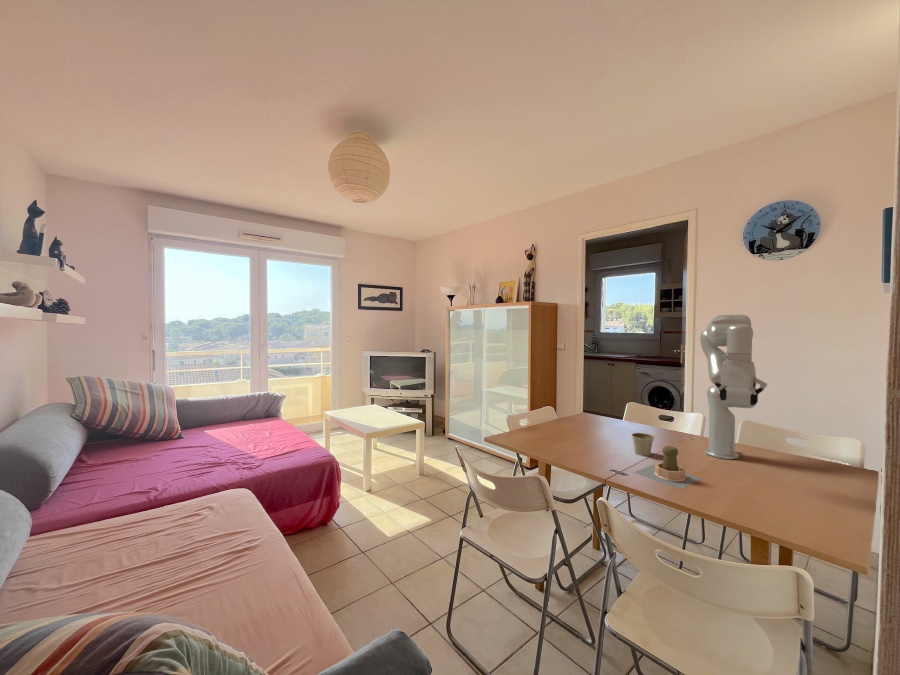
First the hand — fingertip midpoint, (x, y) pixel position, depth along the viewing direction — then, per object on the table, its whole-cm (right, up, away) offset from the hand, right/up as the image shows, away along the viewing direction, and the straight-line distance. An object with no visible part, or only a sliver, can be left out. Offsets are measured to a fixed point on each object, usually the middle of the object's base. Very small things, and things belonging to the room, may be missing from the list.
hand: (737, 402), depth 143 cm
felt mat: (-25, -30, +4) cm, 39 cm away
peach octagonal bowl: (-24, -29, +3) cm, 38 cm away
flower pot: (-22, -29, +28) cm, 46 cm away
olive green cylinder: (-24, -29, +3) cm, 38 cm away
